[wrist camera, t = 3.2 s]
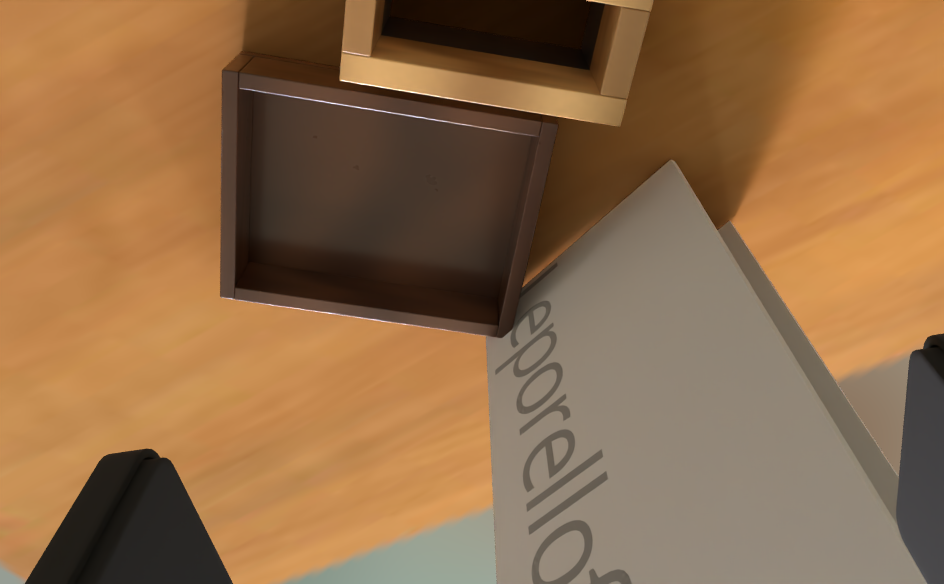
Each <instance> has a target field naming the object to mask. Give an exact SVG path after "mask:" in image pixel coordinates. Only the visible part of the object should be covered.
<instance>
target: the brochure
mask: <svg viewBox="0 0 944 584" xmlns="http://www.w3.org/2000/svg"><path fill="white" fill-rule="evenodd" d="M486 349H487V372H488V394H489V417H490V440H491V463H492V486H493V509H494V531H495V555H496V577H497V584H927V582H926V581H925V579H924V577H923V575H922V574H921V572H920V570H919V568H918V567H917V565H916V563H915V561H914V560H913V558H912V556H911V554H910V553H909V551H908V549H907V547H906V546H905V544H904V542H903V540H902V538H901V535H900V532H899V529H898V525H897V519H896V505H897V494H898V483H899V476H898V475H897V473H896V471H895V470H894V468H893V467H892V466H891V464H890V462H889V461H888V459H887V458H886V456H885V455H884V453H883V452H882V450H881V449H880V447H879V446H878V444H877V443H876V441H875V440H874V438H873V436H872V435H871V433H870V432H869V430H868V429H867V427H866V426H865V424H864V423H863V421H862V420H861V418H860V417H859V415H858V414H857V412H856V411H855V409H854V408H853V406H852V405H851V403H850V402H849V400H848V398H847V397H846V395H845V394H844V392H843V391H842V389H841V388H840V386H839V385H838V383H837V382H836V380H835V379H834V377H833V376H832V374H831V373H830V371H829V369H828V368H827V366H826V365H825V363H824V362H823V360H822V359H821V357H820V356H819V354H818V353H817V351H816V350H815V348H814V347H813V345H812V344H811V342H810V341H809V339H808V338H807V336H806V335H805V333H804V331H803V330H802V328H801V327H800V325H799V324H798V322H797V321H796V319H795V318H794V316H793V315H792V313H791V312H790V310H789V309H788V307H787V306H786V304H785V303H784V301H783V300H782V298H781V296H780V295H779V293H778V292H777V290H776V289H775V287H774V286H773V284H772V283H771V281H770V280H769V278H768V277H767V275H766V274H765V272H764V271H763V269H762V268H761V266H760V265H759V263H758V262H757V260H756V258H755V257H754V255H753V254H752V252H751V251H750V249H749V248H748V246H747V245H746V243H745V242H744V240H743V239H742V237H741V236H740V234H739V233H738V231H737V230H736V228H735V227H734V225H733V224H732V223H731V221H728V222H727V223H726V224H725V225H723V226H722V227H721V228H720V229H718V230H717V229H716V227H715V226H714V224H713V223H712V221H711V219H710V218H709V216H708V214H707V213H706V211H705V209H704V208H703V206H702V205H701V203H700V201H699V200H698V198H697V196H696V195H695V193H694V191H693V190H692V188H691V186H690V185H689V183H688V182H687V180H686V178H685V177H684V175H683V173H682V172H681V170H680V168H679V167H678V165H677V164H676V162H675V161H673V160H669V161H668V162H667V163H666V164H665V165H664V166H662V167H661V168H660V169H659V170H658V171H657V172H656V173H654V174H653V175H652V176H651V177H650V178H649V179H647V180H646V181H645V182H644V183H643V184H642V185H640V186H639V187H638V188H637V189H636V190H635V191H634V192H632V193H631V194H630V195H629V196H628V197H627V198H625V199H624V200H623V201H622V202H621V203H620V204H619V205H617V206H616V207H615V208H614V209H613V210H612V211H610V212H609V213H608V214H607V215H606V216H605V217H603V218H602V219H601V220H600V221H599V222H598V223H597V224H595V225H594V226H593V227H592V228H591V229H590V230H588V231H587V232H586V233H585V234H584V235H583V236H582V237H580V238H579V239H578V240H577V241H576V242H575V243H573V244H572V245H571V246H570V247H569V248H568V249H567V250H565V251H564V252H563V253H562V254H561V255H560V256H558V257H557V258H556V259H555V260H554V261H553V262H551V263H550V264H549V265H548V266H547V267H546V268H545V269H543V270H542V271H541V272H540V273H539V274H538V275H536V276H535V277H534V278H533V279H532V280H531V281H530V282H528V283H527V284H526V285H525V286H524V287H523V288H522V290H521V294H520V299H519V303H518V307H517V312H516V316H515V321H514V325H513V329H512V330H511V331H510V332H509V333H508V334H506V335H505V336H504V337H503V338H497V337H489V336H486Z"/></svg>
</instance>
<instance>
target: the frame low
mask: <svg viewBox="0 0 944 584" xmlns="http://www.w3.org/2000/svg"><path fill="white" fill-rule="evenodd" d="M391 3H392V0H385V4H384V13H383V23H382V32H381V35H384V36H390V37H396V38H401V39H407V40H413V41H419V42H425V43H431V44H437V45H443V46H449V47H455V48H461V49H466V50H472V51H478V52H484V53H490V54H496V55H502V56H508V57H514V58H520V59H526V60H531V61H537V62H543V63H549V64H555V65H561V66H567V67H573V68H579V69H585V70H590V65H591V61H592V57H593V52H594V48H595V44H596V40H597V35H598V31H599V27H600V23H601V19H602V14H603V10H604V6H605V3H599V2H593V1H591V4H590V9H589V13H588V18H587V22H586V26H585V31H584V35H583V40H582V44H581V49H577V48H572V47H566V46H560V45H554V44H548V43H542V42H537V41H531V40H525V39H519V38H513V37H507V36H501V35H496V34H490V33H484V32H478V31H472V30H466V29H460V28H455V27H449V26H443V25H437V24H431V23H425V22H420V21H414V20H408V19H402V18H396V17H390V12H391Z"/></svg>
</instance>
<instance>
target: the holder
mask: <svg viewBox="0 0 944 584" xmlns="http://www.w3.org/2000/svg"><path fill="white" fill-rule="evenodd" d="M339 78H340V67H336V66H330V65H324V64H317V63H311V62H305V61H299V60H293V59H287V58H281V57H275V56H269V55H263V54H257V53H251V52H245V51H241V52H240V53H239V54H238V55H237V56H236V57H235V58H234V59H233V60H232V61H231V62H230V63H229V64H228V65H227V66H226V67H225V68H224V69H223V70H222V132H221V257H220V297H221V298H228V299H235V300H240V301H247V302H254V303H261V304H268V305H274V306H281V307H288V308H295V309H302V310H309V311H316V312H323V313H330V314H337V315H344V316H351V317H358V318H365V319H372V320H378V321H385V322H392V323H399V324H406V325H413V326H420V327H427V328H434V329H441V330H448V331H455V332H462V333H469V334H475V335H482V336H489V337H497V338H503V337H504V336H505V335H506V334H508V333H509V332H510V331H511V330H512V329H513V325H514V321H515V316H516V312H517V307H518V303H519V299H520V294H521V290H522V285H523V281H524V276H525V272H526V267H527V263H528V259H529V254H530V250H531V245H532V241H533V236H534V232H535V227H536V223H537V219H538V214H539V210H540V205H541V201H542V196H543V192H544V187H545V183H546V178H547V174H548V170H549V165H550V161H551V156H552V152H553V147H554V143H555V138H556V134H557V130H558V121H557V117H556V116H551V115H545V114H539V113H533V112H527V111H521V110H515V109H509V108H503V107H497V106H490V105H484V104H478V103H472V102H466V101H460V100H454V99H448V98H442V97H436V96H430V95H424V94H418V93H412V92H405V91H399V90H393V89H387V88H381V87H375V86H369V85H363V84H357V83H351V82H345V81H340V79H339Z"/></svg>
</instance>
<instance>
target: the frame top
mask: <svg viewBox="0 0 944 584" xmlns="http://www.w3.org/2000/svg"><path fill="white" fill-rule="evenodd" d="M588 1H593V2H599V3H605V6H604V10H603V14H602V19H601V23H600V27H599V31H598V35H597V40H596V44H595V48H594V52H593V57H592V61H591V65H590V70H585V69H579V68H573V67H567V66H561V65H555V64H549V63H543V62H537V61H531V60H526V59H520V58H514V57H508V56H502V55H496V54H490V53H484V52H478V51H472V50H466V49H461V48H455V47H449V46H443V45H437V44H431V43H425V42H419V41H413V40H407V39H401V38H396V37H390V36H384V35H381V32H382V23H383V13H384V4H385V0H346V4H345V16H344V28H343V41H342V53H341V65H340V78H339V79H340V81H345V82H351V83H357V84H363V85H369V86H375V87H381V88H387V89H393V90H399V91H405V92H412V93H418V94H424V95H430V96H436V97H442V98H448V99H454V100H460V101H466V102H472V103H478V104H484V105H490V106H497V107H503V108H509V109H515V110H521V111H527V112H533V113H539V114H545V115H551V116H557V117H563V118H569V119H575V120H582V121H588V122H594V123H600V124H606V125H612V126H618V127H619V126H621V122H622V118H623V115H624V111H625V107H626V103H627V98H628V95H629V91H630V88H631V84H632V80H633V76H634V73H635V69H636V65H637V61H638V58H639V54H640V50H641V46H642V42H643V39H644V35H645V31H646V27H647V24H648V20H649V16H650V12H649V11H651V9H652V5H653V2H654V0H588Z"/></svg>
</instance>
